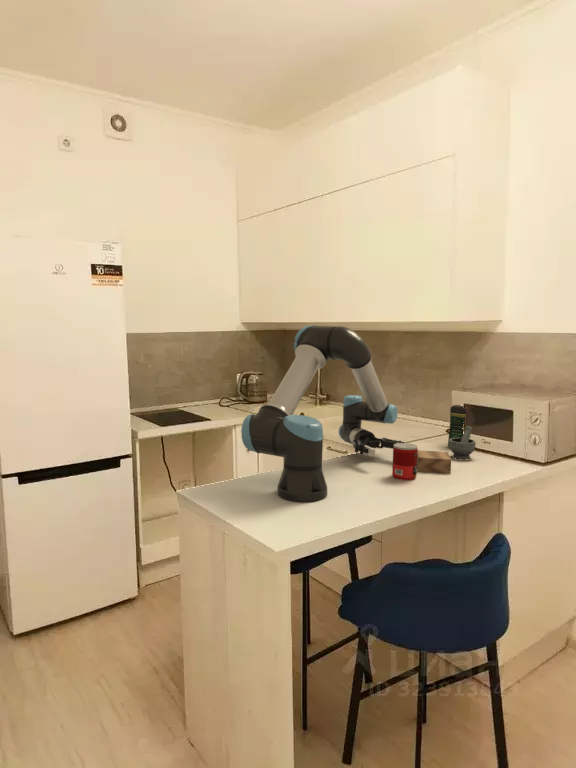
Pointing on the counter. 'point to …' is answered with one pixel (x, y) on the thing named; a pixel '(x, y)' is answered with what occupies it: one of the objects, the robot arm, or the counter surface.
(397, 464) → the canned food
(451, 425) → the coffee jar
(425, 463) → the block
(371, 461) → the counter surface
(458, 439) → the mortar and pestle
